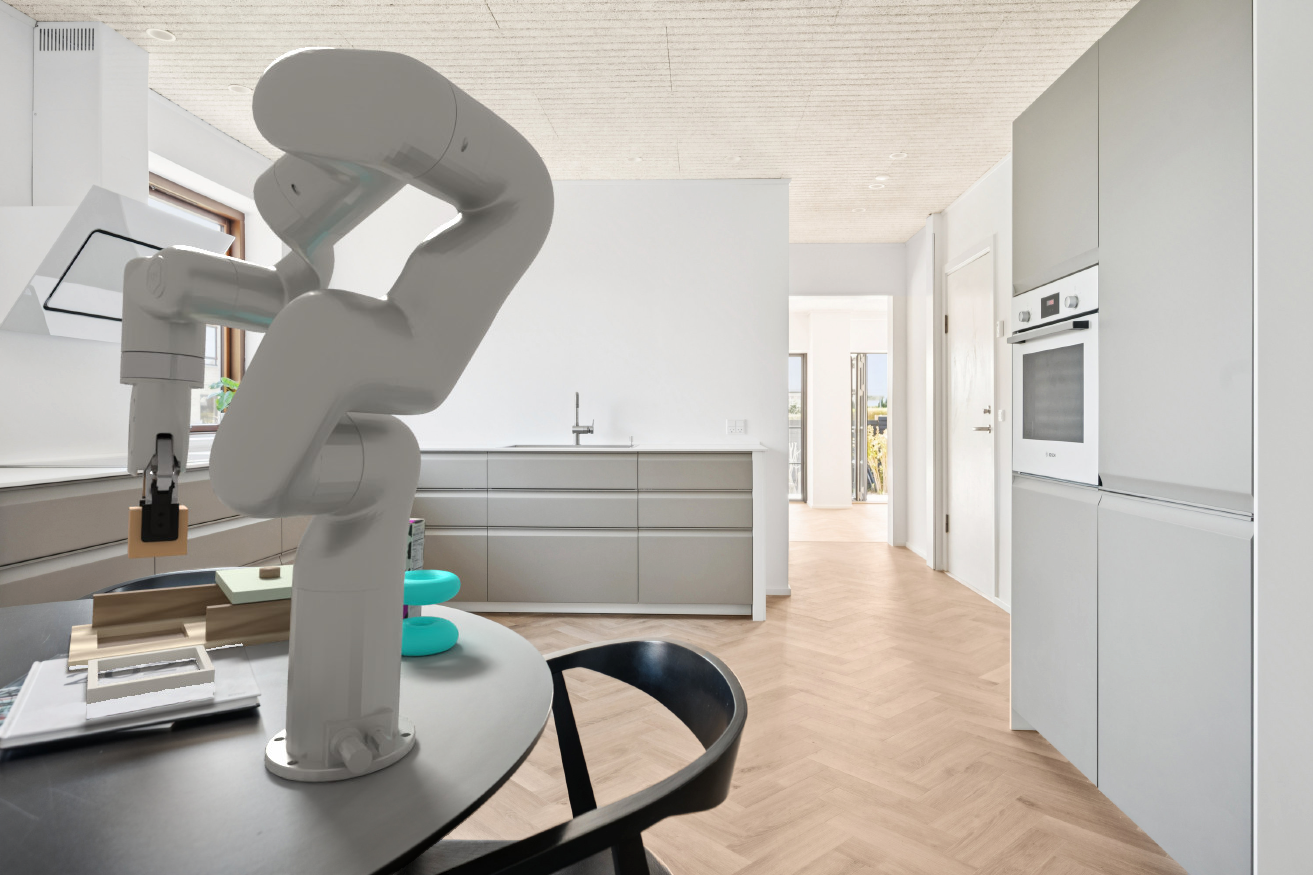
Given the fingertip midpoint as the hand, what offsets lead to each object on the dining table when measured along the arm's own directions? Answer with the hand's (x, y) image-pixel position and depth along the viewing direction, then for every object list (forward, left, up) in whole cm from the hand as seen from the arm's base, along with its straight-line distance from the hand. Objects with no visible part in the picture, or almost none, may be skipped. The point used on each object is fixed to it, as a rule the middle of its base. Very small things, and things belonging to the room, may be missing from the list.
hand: (157, 536), depth 74 cm
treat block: (0, 0, -2) cm, 2 cm away
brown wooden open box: (+16, -6, -17) cm, 24 cm away
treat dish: (0, 0, -17) cm, 17 cm away
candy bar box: (+14, -29, -17) cm, 36 cm away
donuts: (0, -30, -17) cm, 35 cm away
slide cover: (+16, -14, -10) cm, 24 cm away
